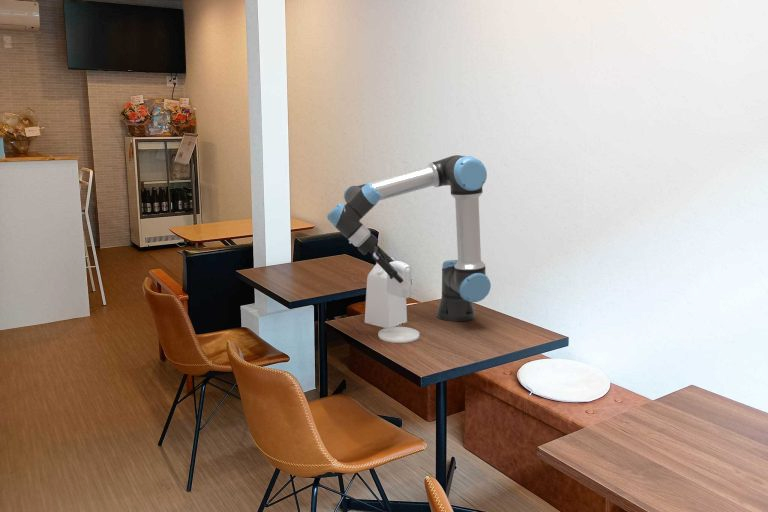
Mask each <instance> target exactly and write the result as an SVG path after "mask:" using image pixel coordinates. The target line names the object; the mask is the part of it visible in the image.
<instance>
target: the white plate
mask: <svg viewBox="0 0 768 512" xmlns="http://www.w3.org/2000/svg"><path fill="white" fill-rule="evenodd" d="M377 332H378V338H379V339H380V340H382V341H384V342H387V343H393V344H406V343H412V342H416V341H418V340H419V338H420V332H419V331H418V330H417V329H414V328H412V327H406V326H395V327H389V328H383V329H380V330H379V331H377Z"/></svg>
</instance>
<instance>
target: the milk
mask: <svg viewBox="0 0 768 512" xmlns="http://www.w3.org/2000/svg"><path fill="white" fill-rule="evenodd" d="M389 257H390V256H389ZM390 258H391V259H393V260H394V261H395V259H394V257H390ZM366 278H367V279H366V289H365V290H366V291H365V292H366V294H365V309H364V310H365V313H364V323H365V324H368V325H373V326H377V327H379V328H383V329H384V328H389V327H398V326H400V325H402V323H403V324H405V323H408V313H407V311H408V309H407V298H403V297H399V296H395V295H392V294H389V293H388V292H387V273H386V272H385V271H384V270H383V268H382V267H381V266H380V265H379V264H378V263H377V262H376V264H375V265H374V266H373V268H372V269H371V270H370V272H369V273H368V274H367V277H366ZM399 324H400V325H399Z"/></svg>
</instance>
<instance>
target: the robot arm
mask: <svg viewBox="0 0 768 512" xmlns="http://www.w3.org/2000/svg"><path fill="white" fill-rule="evenodd" d="M487 172H488V171H487V168H486V166H485V164H484V163H483V162H482V161H481V160H480V159H478V158H476V157H473V156H471V155H469V156H467V155H457V154H455V155H451V156H448V157H444V158H442V159H438V160H436V161H432V162H429V163H428V165H427V166H425V167H421V168H418V169H414V170H413V169H412V170H409V171H407V172H403V173H399V174H396V175H392V176H388V177H385V178H382V179H377V180H375V181H371V182H367V183H364V184H359V185H350V186H348V187H347V188H346V189H345V190H344V193H343V199H344V201H345V204H343V203H341V202H339V203H337V205H336V206H335V207H334V208H333V209H331V211H329V213H327V216H326V217H327V220H328V221H329V222H330V223H331V224H332V226H333V227H334V228H336V229H337V230H338V231H339V232H340V233H341V234H342V235H343V236H344V237H345V238H346V239H347V240H348V244H350V245H351V244H352V245H353V246H354V247H357V250H358V251H359V252H360V253H361V254H362V255H363V256H366V255H367V254H368V253H369V254H370V255H371V258H372V260H374V261H375V262H376V264H377V263H378V264H379V265H380V266H381V267H382V268H383V270H384V271H385V272H386V273H387V274H388V275H389V276H390V279H392V278H393V279H394V280H395V281H396V282H397V283H398V284H399V285H400V286H401V287H402V288H403V289H404V290H405V291H406V290H407V289H408V288H409V287H410V286H411V287H412V283H411V284H410V283H409V282H408V281H407V280H406V279H405V278H404V277H403V276H402V275H401V274H400V273H399V272H398V273H397V271H396V270H395V269H394V268H393V267H392V266H391V264H390V262H393V261H395V259H394V260H393V259H391V258H392V257H391V258H390V256H389V255H388V253H386V251H384V250H383V249H382V248H381V247H380V246H379V245H377V244H378V243H379V239H378V238H377V237H376V236H375V235H374V234H373V233H371V230H369V229H368V228H367V227H366V225H365V224H363V223H362V222H361V220H362V219H363V218H364V217H365V216H366V215H367V214H368V213H369V212H370V211H371V210H372V209H373V208H374V207H375V206H376V205H377V204H378V203H379V202H380V201H383V200H386V199H389V198H394V197H398V196H401V195H404V194H408V193H412V192H416V191H418V190H424V189H426V188H429V187H435V188H440V187H443V186H450V195H451V196H452V197H453V198H454V201H455V204H454V205H455V223H456V244H457V246H456V247H457V259H450V260H449V259H448V260H445V261H443V263H442V266H441V267H442V268H441V298H440V301H439V304H438V305H437V306H438V307H437V309H436V316H437V317H438V318H439V319H441V320H444V321H448V322H467V321H471V320H473V319H474V318H475V316H476V314H475V309H474V305H473V303H478V302H481V301H483V300H484V299H486V297H487V296H488V295H489V293H490V291H491V286H492V285H491V280H490V279H489V277H488V275H487V274H486V263H484V262H483V261H482V251H481V228H480V200H479V197H480V196H481V195H482V194H483V193H484V192H483V186H484V185H485V183H486V181H487V177H488V175H487Z"/></svg>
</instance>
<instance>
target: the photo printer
mask: <svg viewBox="0 0 768 512" xmlns="http://www.w3.org/2000/svg"><path fill="white" fill-rule="evenodd" d="M390 264H391V266H392V267H393V268H394V269H395V270H396V271H397V273H398V272H399V273H400V274H401V275H402V276H403V277H404V278H405V279H406V280H407V281H408V282H409V283H410V284H411V286H410V287H409V288H408V289H407V290H406V291H405V290H404V289H403V288H402V287H401V286H400V285H399V284H398V283H397V282H396V281H395V280H394V279H393V278H392V279H390V276H389V275H388V274H387V292H388V293H389V294H392V295H395V296H399V297H403V298H406V299H409V298H411V297H412V267H411V266H410V264H407V263H406V262H403V261H400V260H394V261H393V262H390Z"/></svg>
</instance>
